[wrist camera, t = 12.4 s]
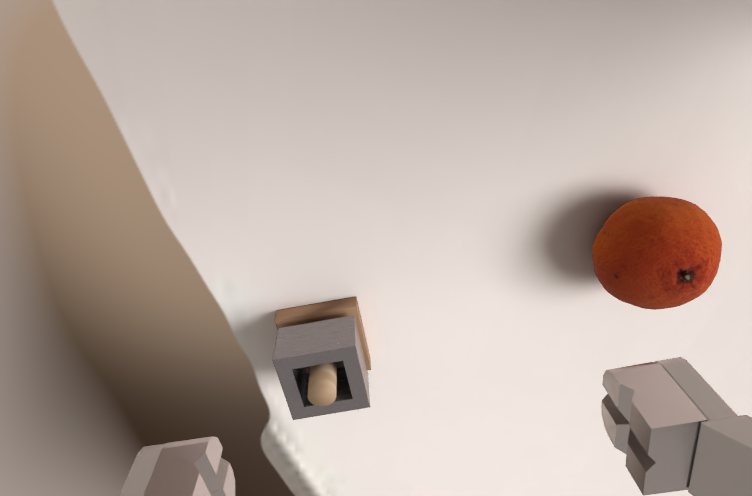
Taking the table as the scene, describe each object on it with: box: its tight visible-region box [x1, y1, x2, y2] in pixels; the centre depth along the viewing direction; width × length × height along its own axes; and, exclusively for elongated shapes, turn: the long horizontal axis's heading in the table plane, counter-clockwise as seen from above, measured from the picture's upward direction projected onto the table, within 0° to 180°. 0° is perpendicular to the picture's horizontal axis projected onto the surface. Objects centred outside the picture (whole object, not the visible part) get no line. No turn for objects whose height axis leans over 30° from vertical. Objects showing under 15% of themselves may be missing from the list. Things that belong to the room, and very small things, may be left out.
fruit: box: [592, 197, 722, 309], centre depth 39 cm, size 9×9×8 cm
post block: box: [275, 297, 371, 406], centre depth 42 cm, size 7×7×8 cm
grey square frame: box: [273, 315, 370, 420], centre depth 42 cm, size 6×6×4 cm
